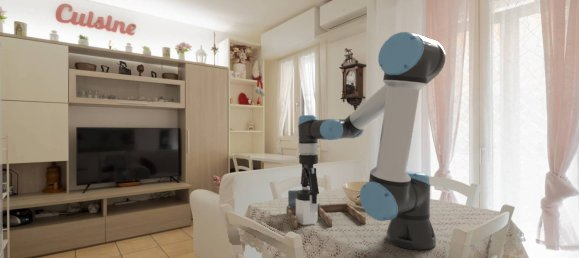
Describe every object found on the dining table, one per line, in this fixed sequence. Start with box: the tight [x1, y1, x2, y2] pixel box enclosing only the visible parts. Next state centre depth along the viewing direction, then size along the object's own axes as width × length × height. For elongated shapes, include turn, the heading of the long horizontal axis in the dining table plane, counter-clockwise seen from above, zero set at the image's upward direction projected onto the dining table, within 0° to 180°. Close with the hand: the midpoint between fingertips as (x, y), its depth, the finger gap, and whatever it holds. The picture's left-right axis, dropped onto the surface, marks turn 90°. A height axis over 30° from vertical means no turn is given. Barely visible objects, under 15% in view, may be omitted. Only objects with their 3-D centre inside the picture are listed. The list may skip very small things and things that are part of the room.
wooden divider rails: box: [286, 188, 367, 230], centre depth 120 cm, size 20×28×10 cm
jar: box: [295, 189, 319, 226], centre depth 117 cm, size 9×8×12 cm
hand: (309, 206), depth 117 cm, fingers open, 13 cm apart
